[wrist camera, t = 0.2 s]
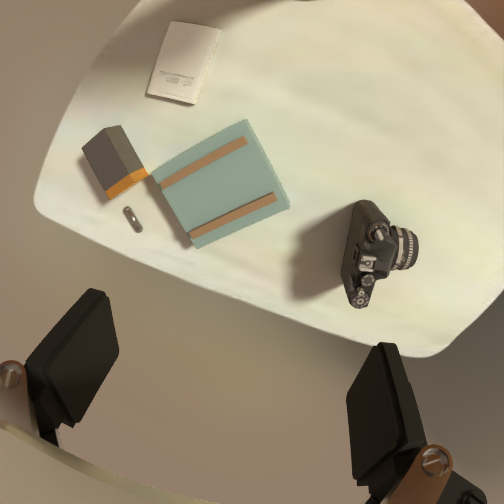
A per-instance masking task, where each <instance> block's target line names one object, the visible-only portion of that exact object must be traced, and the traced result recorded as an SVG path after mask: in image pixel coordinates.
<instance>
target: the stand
mask: <svg viewBox="0 0 504 504" xmlns="http://www.w3.org/2000/svg"><path fill="white" fill-rule="evenodd" d="M151 174H152V176H153V177H154V179H155V181H156V183H157V184H158V186H159V188H160V189H161V191H162V193H163V195H164V196H165V198H166V200H167V201H168V203H169V205H170V206H171V208H172V210H173V211H174V213H175V215H176V216H177V218H178V220H179V221H180V223H181V225H182V226H183V228H184V230H185V231H186V233H187V235H188V236H189V238H190V240H191V241H192V243H193V244H194V246H195V248H196V249H198V248H201V247H203V246H205V245H207V244H209V243H212V242H214V241H216V240H218V239H220V238H223V237H225V236H227V235H229V234H232V233H234V232H236V231H238V230H241V229H243V228H245V227H247V226H250V225H252V224H254V223H256V222H259V221H261V220H263V219H265V218H268V217H270V216H272V215H275V214H277V213H279V212H281V211H284V210H286V209H288V208H290V201H289V199H288V197H287V195H286V193H285V191H284V189H283V187H282V185H281V183H280V181H279V179H278V177H277V175H276V173H275V171H274V169H273V167H272V165H271V163H270V161H269V159H268V158H267V156H266V154H265V152H264V150H263V148H262V146H261V144H260V142H259V140H258V138H257V137H256V135H255V133H254V131H253V129H252V127H251V125H250V123H249V122H248V120H247V119H244V120H242V121H240V122H238V123H236V124H234V125H232V126H230V127H229V128H227V129H225V130H223V131H221V132H219V133H217V134H216V135H214V136H212V137H210V138H208V139H207V140H205V141H203V142H201V143H199V144H198V145H196V146H194V147H192V148H191V149H189V150H187V151H186V152H184V153H182V154H181V155H179V156H177V157H176V158H174V159H172V160H171V161H169V162H167V163H166V164H164V165H163V166H161V167H159V168H158V169H156V170H155V171H153V172H152V173H151Z"/></svg>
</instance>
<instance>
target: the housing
mask: <svg viewBox="0 0 504 504" xmlns="http://www.w3.org/2000/svg"><path fill="white" fill-rule="evenodd" d="M82 150H83V152H84V154H85V156H86V158H87V160H88V162H89V164H90V165H91V167H92V169H93V171H94V173H95V174H96V176H97V178H98V180H99V182H100V183H101V185H102V187H103V189H104V190H105V192H106V194H107V196H108V197H109V199H110V200H111V199H113V198H114V197H116V196H118V195H119V194H121V193H123V192H124V191H126V190H127V189H129V188H130V187H132V186H133V185H135V184H136V183H138V182H139V181H141V180H142V179H144V178H145V177H147V176H148V173H147V172H146V170H145V168H144V166H143V165H142V163H141V161H140V159H139V157H138V156H137V154H136V152H135V150H134V148H133V147H132V145H131V143H130V141H129V139H128V138H127V136H126V134H125V132H124V130H123V128H122V127H121V125H119V126H113V127H107V128H104V129H103V130H101V131H100V132H99V133H98V134H97V135H96V136H94V137H93V138H92V139H91V140H90V141H89V142H88V143H86V144H85V145H84V146H83V147H82Z"/></svg>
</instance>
